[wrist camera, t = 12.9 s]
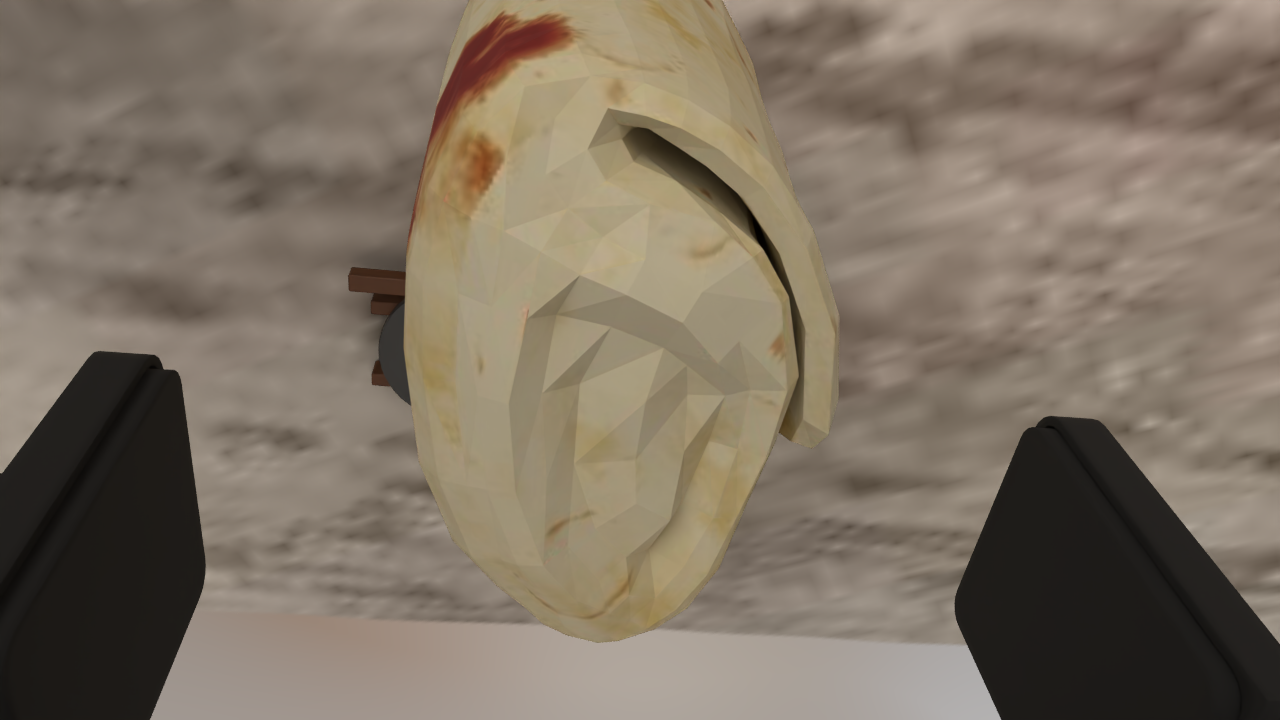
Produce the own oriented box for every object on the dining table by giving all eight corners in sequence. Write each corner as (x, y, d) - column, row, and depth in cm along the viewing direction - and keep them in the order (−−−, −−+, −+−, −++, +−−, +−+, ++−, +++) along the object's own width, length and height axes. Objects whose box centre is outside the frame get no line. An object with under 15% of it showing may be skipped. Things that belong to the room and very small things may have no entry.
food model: (457, -144, 26) (248, 57, 9) (707, -152, 26) (954, 31, 9) (494, 200, 31) (405, 734, 14) (703, 191, 32) (858, 704, 15)
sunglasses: (358, 392, 35) (351, 415, 34) (356, 255, 32) (348, 274, 31) (745, 420, 36) (751, 443, 35) (774, 292, 34) (782, 312, 33)
